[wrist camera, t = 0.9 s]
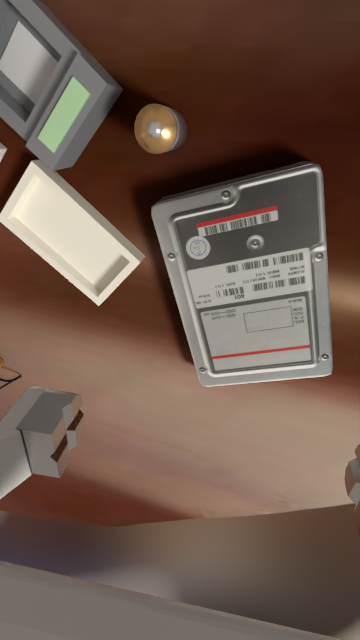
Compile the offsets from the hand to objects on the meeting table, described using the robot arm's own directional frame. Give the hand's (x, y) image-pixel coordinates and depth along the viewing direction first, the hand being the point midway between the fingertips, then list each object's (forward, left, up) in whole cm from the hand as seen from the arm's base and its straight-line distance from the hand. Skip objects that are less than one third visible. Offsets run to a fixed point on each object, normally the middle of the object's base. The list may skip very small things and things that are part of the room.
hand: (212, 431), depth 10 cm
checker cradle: (+6, -24, -35) cm, 43 cm away
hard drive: (+5, +9, -35) cm, 37 cm away
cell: (0, -11, -35) cm, 36 cm away
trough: (+18, -12, -35) cm, 41 cm away
